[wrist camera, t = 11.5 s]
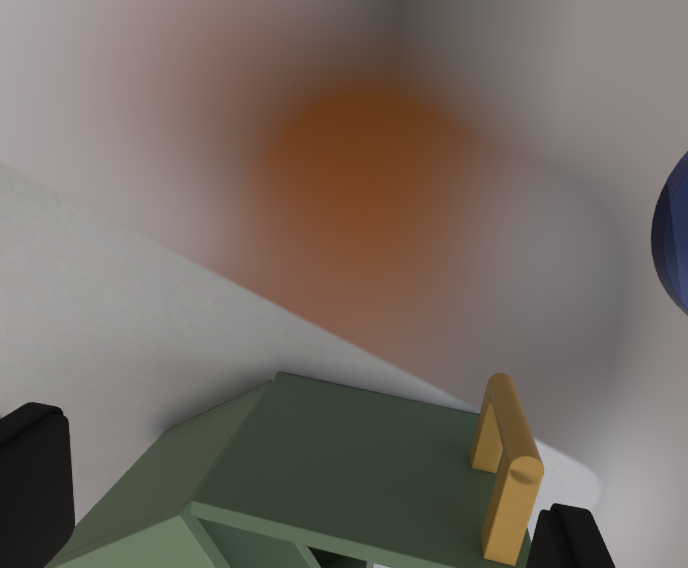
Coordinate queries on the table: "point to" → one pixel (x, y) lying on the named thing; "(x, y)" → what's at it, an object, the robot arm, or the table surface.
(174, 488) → the cupboard
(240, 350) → the table surface
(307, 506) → the cupboard door
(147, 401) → the table surface
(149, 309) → the table surface
